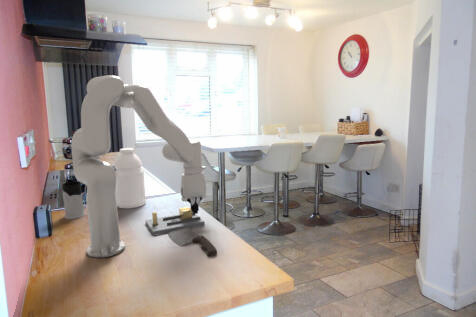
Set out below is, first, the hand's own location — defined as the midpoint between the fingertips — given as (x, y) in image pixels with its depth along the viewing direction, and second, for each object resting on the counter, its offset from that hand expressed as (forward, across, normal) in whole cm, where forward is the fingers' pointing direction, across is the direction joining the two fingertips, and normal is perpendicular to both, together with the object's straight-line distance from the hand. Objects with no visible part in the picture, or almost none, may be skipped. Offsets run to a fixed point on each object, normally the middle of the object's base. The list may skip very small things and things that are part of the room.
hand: (194, 212), depth 148 cm
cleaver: (+4, +8, +20) cm, 22 cm away
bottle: (+4, +20, -38) cm, 43 cm away
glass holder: (+4, +43, -35) cm, 56 cm away
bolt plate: (+4, +9, 0) cm, 10 cm away
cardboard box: (+2, +4, 0) cm, 4 cm away
